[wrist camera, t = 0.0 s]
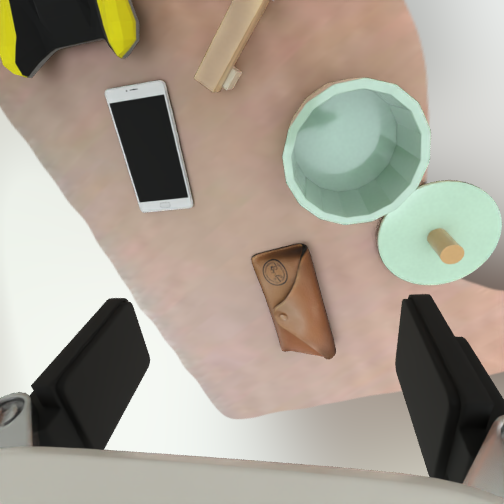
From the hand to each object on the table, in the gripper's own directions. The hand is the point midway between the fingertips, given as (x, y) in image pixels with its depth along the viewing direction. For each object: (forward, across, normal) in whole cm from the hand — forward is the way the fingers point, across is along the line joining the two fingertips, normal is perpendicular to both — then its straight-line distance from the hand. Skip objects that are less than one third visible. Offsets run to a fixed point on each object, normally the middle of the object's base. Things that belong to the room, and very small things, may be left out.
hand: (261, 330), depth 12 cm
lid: (+31, -17, +11) cm, 37 cm away
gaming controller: (+31, +22, -16) cm, 41 cm away
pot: (+31, -6, -1) cm, 32 cm away
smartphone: (+31, +17, -2) cm, 36 cm away
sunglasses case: (+31, +1, +21) cm, 38 cm away
